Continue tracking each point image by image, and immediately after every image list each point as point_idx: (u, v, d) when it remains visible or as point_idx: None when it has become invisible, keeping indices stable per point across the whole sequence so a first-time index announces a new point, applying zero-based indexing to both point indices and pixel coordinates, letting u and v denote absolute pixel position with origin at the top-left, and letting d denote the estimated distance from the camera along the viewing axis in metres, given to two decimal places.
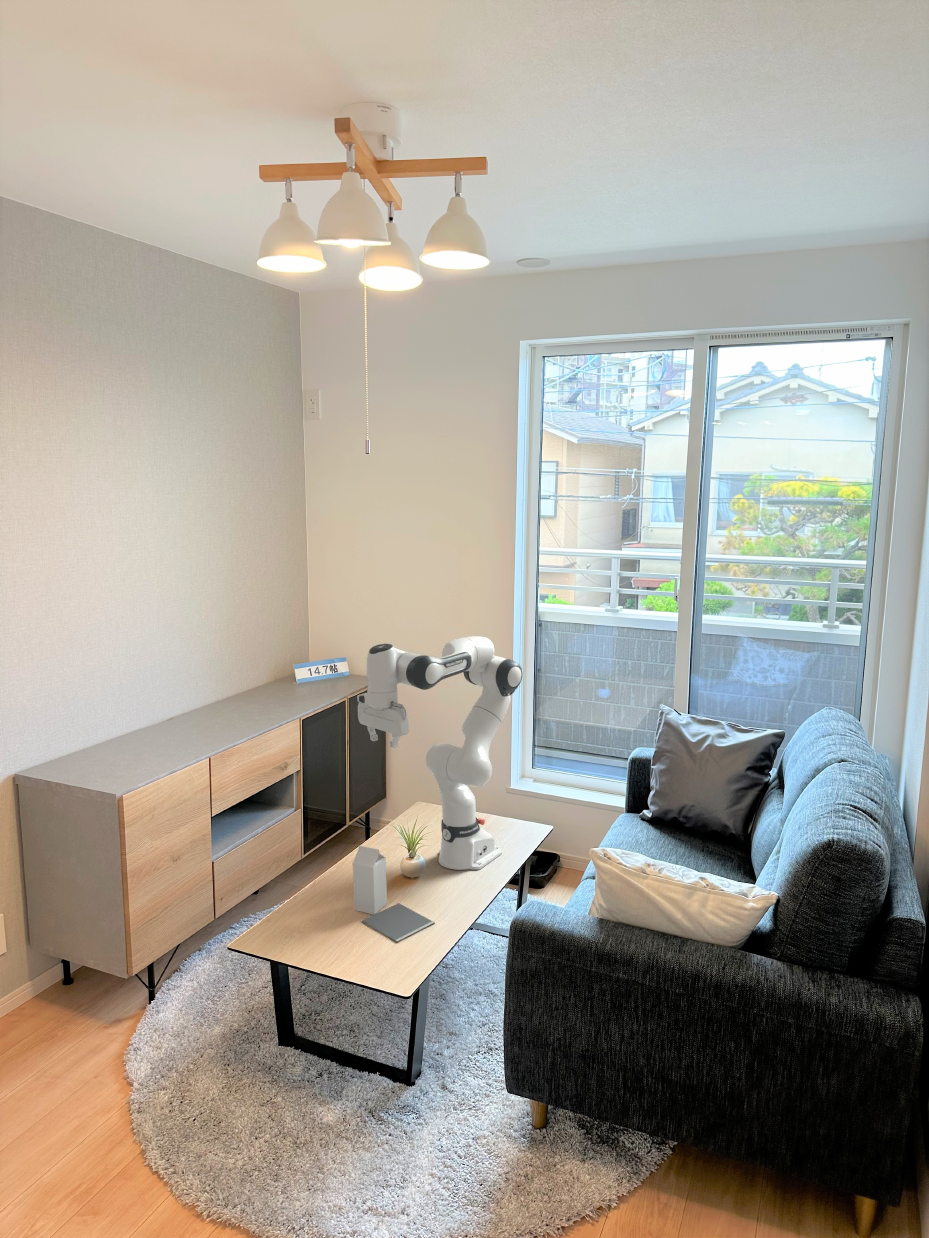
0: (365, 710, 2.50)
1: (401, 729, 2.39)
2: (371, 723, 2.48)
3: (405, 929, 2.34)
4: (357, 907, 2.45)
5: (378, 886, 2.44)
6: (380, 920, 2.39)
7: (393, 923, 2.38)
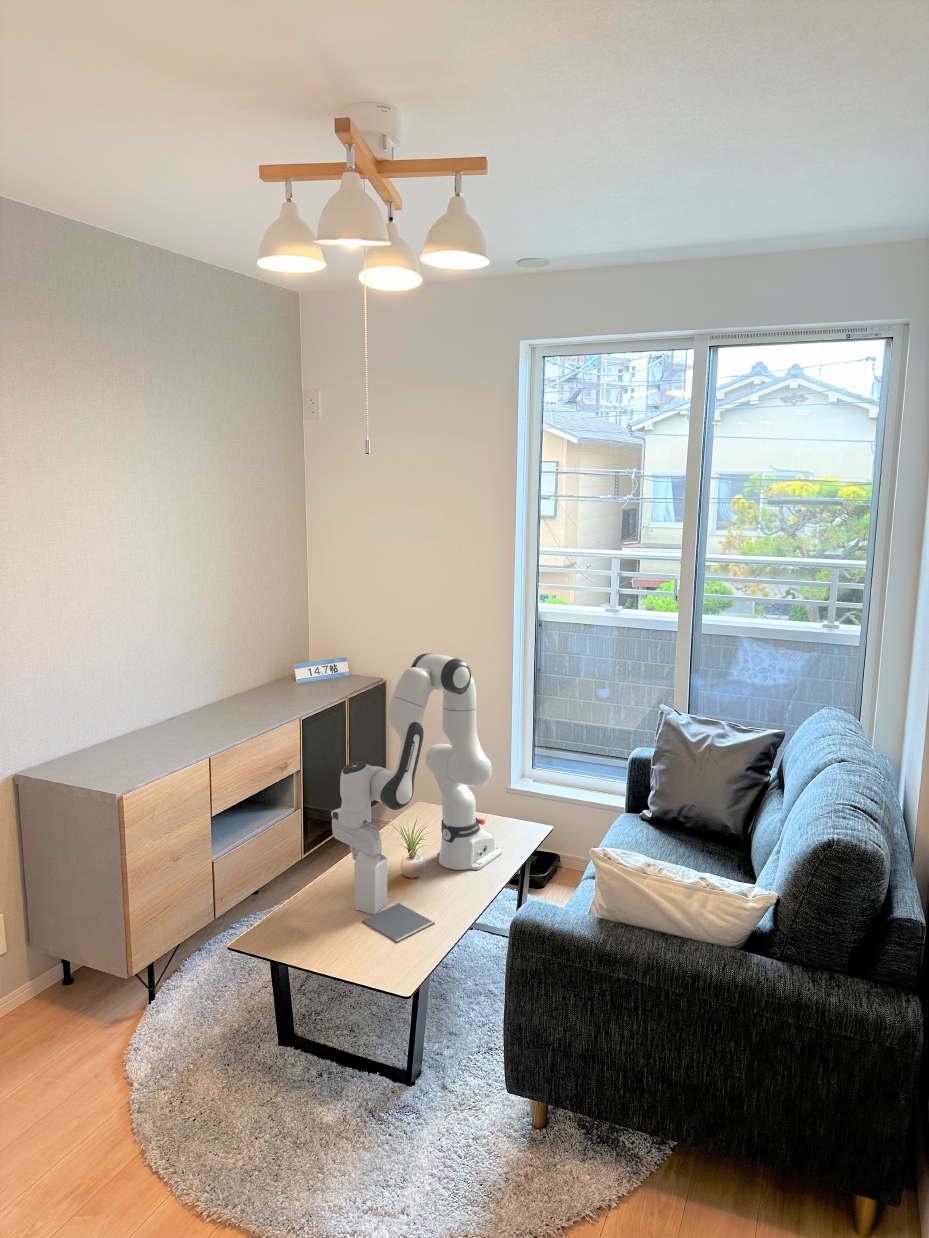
0: (339, 825, 2.51)
1: (374, 850, 2.40)
2: (345, 839, 2.49)
3: (405, 929, 2.34)
4: (357, 906, 2.45)
5: (379, 886, 2.43)
6: (380, 920, 2.39)
7: (393, 923, 2.38)
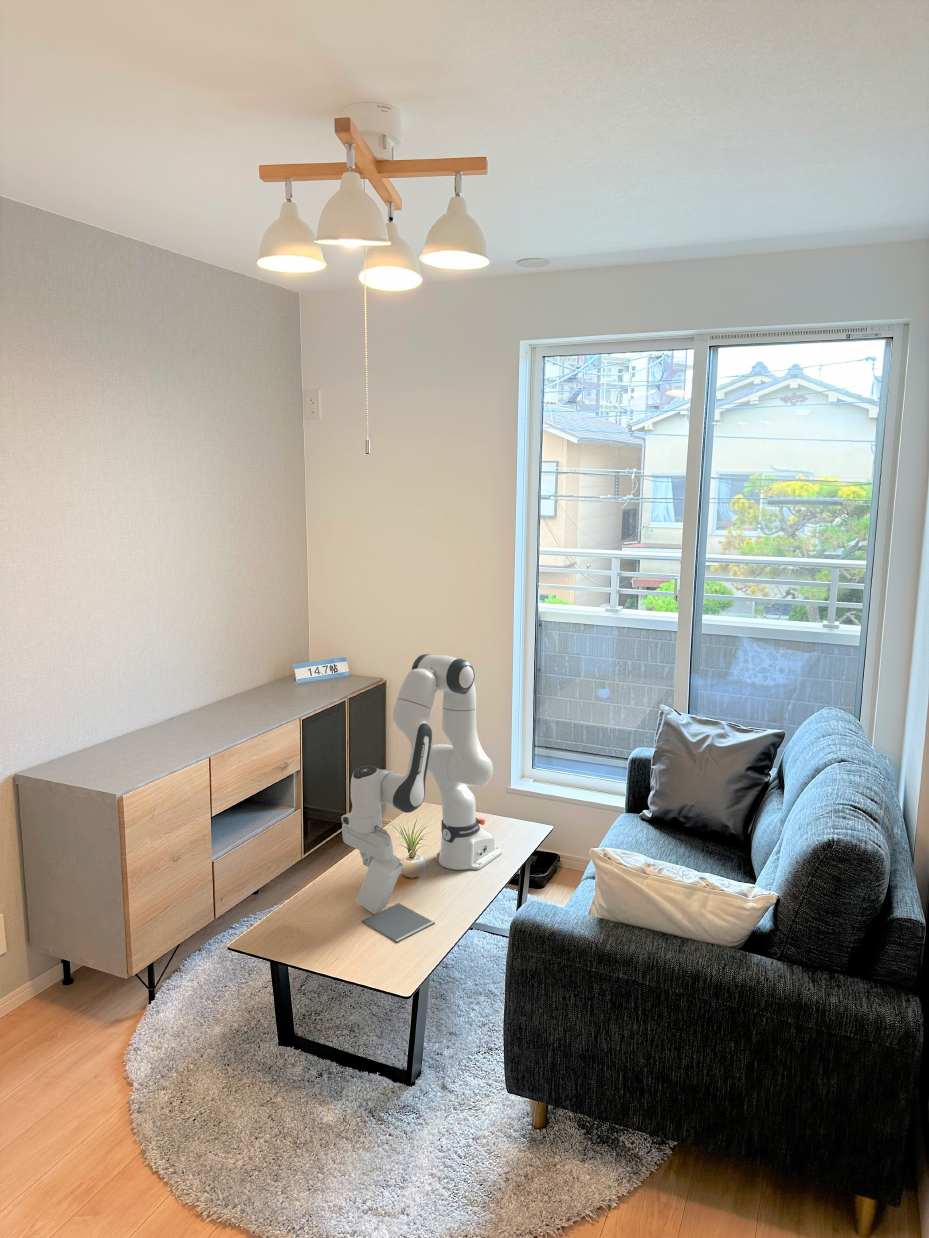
0: (349, 830, 2.48)
1: (385, 856, 2.37)
2: (355, 845, 2.46)
3: (405, 929, 2.34)
4: (359, 900, 2.45)
5: (387, 890, 2.42)
6: (380, 920, 2.39)
7: (393, 923, 2.38)
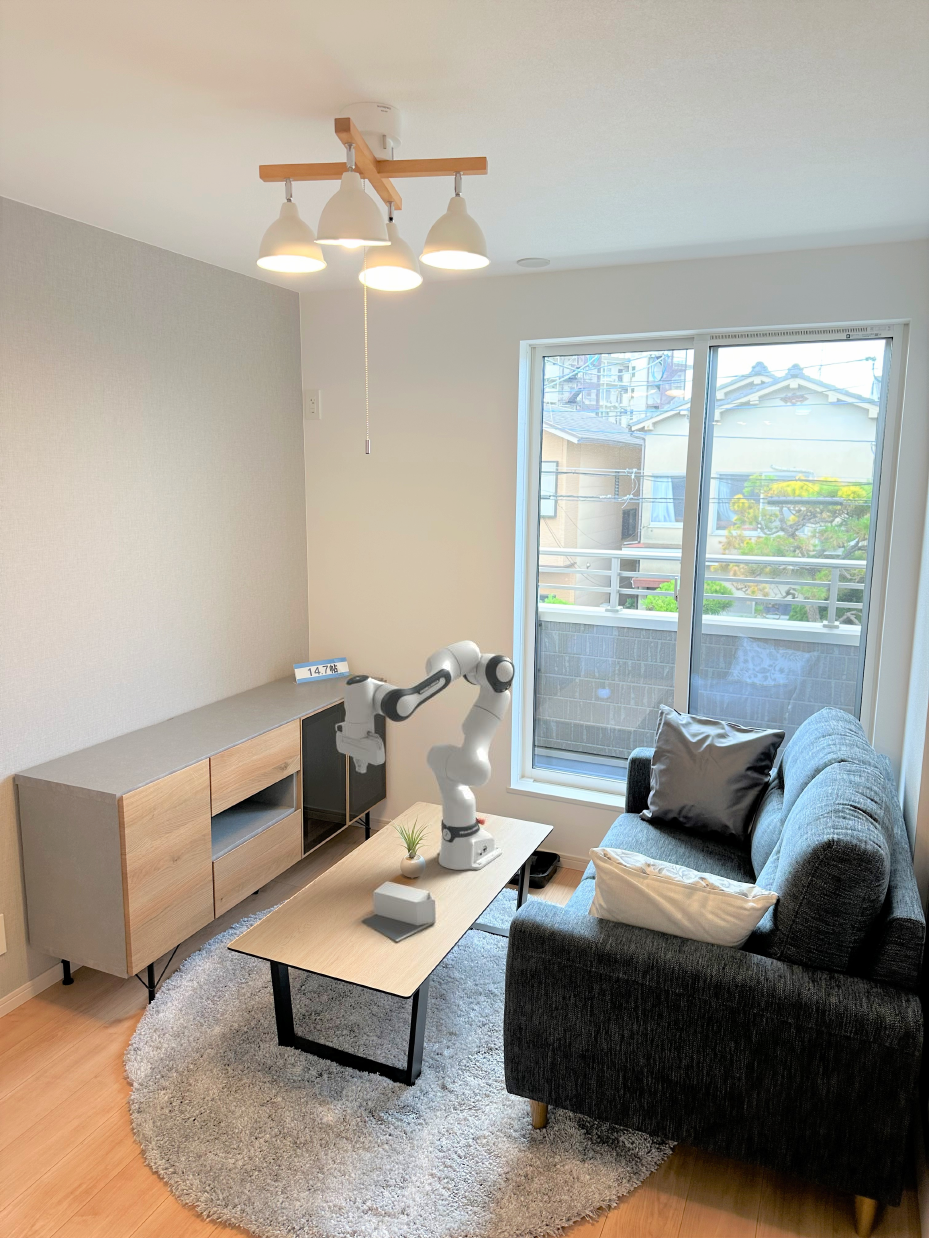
0: (343, 739, 2.58)
1: (377, 759, 2.47)
2: (349, 752, 2.56)
3: (405, 929, 2.34)
4: (376, 895, 2.42)
5: None
6: (380, 920, 2.39)
7: (393, 923, 2.38)
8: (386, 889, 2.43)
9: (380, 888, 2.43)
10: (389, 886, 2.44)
